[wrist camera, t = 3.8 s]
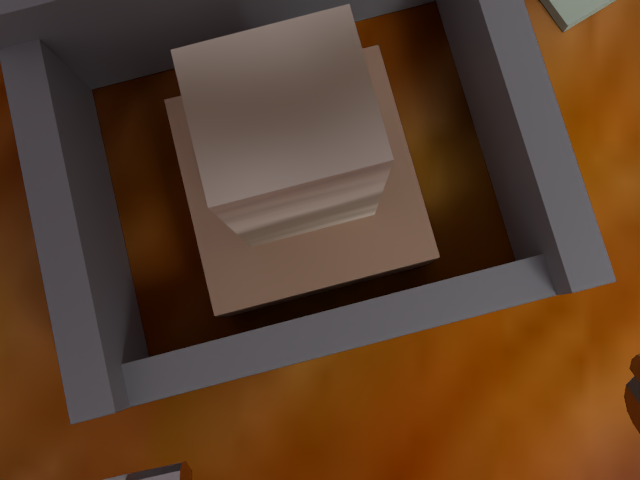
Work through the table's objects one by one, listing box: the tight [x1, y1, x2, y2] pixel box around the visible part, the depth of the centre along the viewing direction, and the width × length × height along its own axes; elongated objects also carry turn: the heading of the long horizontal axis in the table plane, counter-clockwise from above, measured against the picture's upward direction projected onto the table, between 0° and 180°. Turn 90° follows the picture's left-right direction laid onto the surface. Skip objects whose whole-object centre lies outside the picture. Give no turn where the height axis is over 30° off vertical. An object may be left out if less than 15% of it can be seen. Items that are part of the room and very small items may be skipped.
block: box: [171, 4, 394, 247], centre depth 20 cm, size 4×5×8 cm
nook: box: [0, 0, 616, 424], centre depth 24 cm, size 16×20×7 cm
